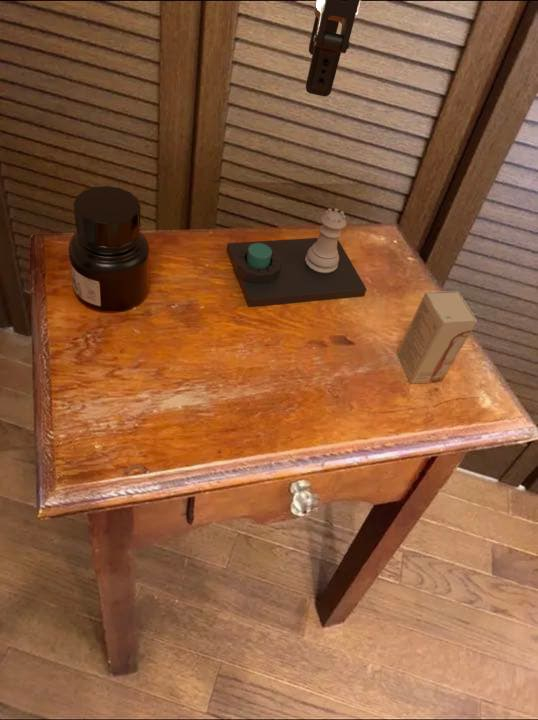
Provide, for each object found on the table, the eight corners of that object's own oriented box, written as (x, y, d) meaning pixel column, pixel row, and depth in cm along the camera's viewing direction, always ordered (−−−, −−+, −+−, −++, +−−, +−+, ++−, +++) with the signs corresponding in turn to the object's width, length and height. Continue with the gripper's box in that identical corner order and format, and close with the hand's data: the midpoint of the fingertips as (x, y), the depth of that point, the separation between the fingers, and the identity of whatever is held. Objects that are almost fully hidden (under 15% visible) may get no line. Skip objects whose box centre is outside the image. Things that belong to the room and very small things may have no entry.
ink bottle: (70, 264, 72) (60, 178, 64) (142, 260, 75) (142, 177, 66) (76, 320, 67) (66, 234, 58) (154, 313, 69) (156, 230, 60)
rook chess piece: (298, 255, 79) (311, 205, 73) (327, 251, 80) (342, 201, 74) (313, 277, 76) (327, 227, 70) (342, 272, 78) (359, 223, 72)
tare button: (250, 269, 73) (252, 258, 72) (243, 254, 75) (245, 243, 74) (272, 268, 74) (275, 257, 73) (265, 253, 76) (268, 242, 75)
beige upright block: (443, 382, 70) (479, 323, 62) (409, 384, 68) (442, 324, 61) (427, 350, 73) (459, 289, 65) (394, 351, 72) (424, 290, 64)
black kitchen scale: (244, 308, 72) (248, 290, 70) (223, 251, 79) (225, 233, 77) (363, 297, 78) (370, 279, 75) (334, 244, 84) (339, 227, 82)
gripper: (322, -182, 46) (282, 36, 58) (320, -156, 37) (272, 98, 49) (414, -158, 47) (355, 52, 59) (434, -127, 37) (359, 117, 49)
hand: (318, 73), depth 54 cm, fingers open, 8 cm apart
